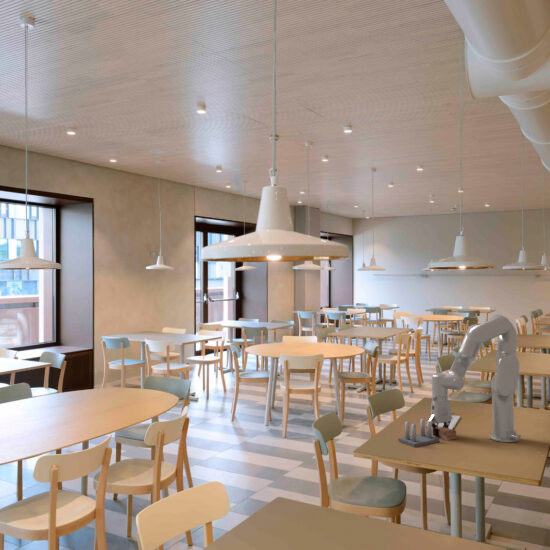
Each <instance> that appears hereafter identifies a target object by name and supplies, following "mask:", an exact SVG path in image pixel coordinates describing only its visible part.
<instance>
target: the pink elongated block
mask: <svg viewBox="0 0 550 550" xmlns="http://www.w3.org/2000/svg"><path fill="white" fill-rule="evenodd" d="M431 428H432V426H431ZM438 429H439V436H438V437H439V439H441V438H442V439H441V440H444V439H445V440H446V441H450V440H451V439H452V440H456V439H457V430H456V429H453V430H452V429H448V428H445V427H442V426H438ZM425 434H426V435H427V425H425ZM432 436H433V437H436V438H438V437H437V436H434V435H433V428H432ZM455 438H456V439H455Z"/></svg>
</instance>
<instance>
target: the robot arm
mask: <svg viewBox="0 0 550 550" xmlns="http://www.w3.org/2000/svg"><path fill="white" fill-rule="evenodd" d="M495 338H497V349H496V355H495V358H494V359H495V365H496V373H495V374H494V375H493V376H492V378H491V381H490V388H491V402H492V403H491V404H492V405H491V406H492V407H491V410H492V414H491V415H492V433H491V434H489V439H491V440H493V441H496V442H499V443H500V442H501V443H515V442H518V441H520V439H521V434H517V430H515V418H514V417H515V416H514V415H515V411H514V410H515V408H514V405H515V404H514V394H515V392H516V391H517V387H518V382H519V381H518V380H519V373H520V361H519V359H518V357H517V349H518V333H517V330H516V328H515V325H514V324H513V323H512V322H511V320H510V319H508V318H507V317H506V316H505V315H502V314H498V313H497V314H494V315H492V316H491V317H490V318H489V320H487V321H484V322H483V323H480V324H471V325H470V326H469V327H468V328H467V330H466V332H465V334H464V337H463V338H462V339H463V340H462V342H461V344H460V347H459V348H458V351H457V353H456V356H455V358H454V360H453V363H452V364H451V367H450V369H449V371H448V374H446V373H443V372H442V373H441V372H440V373H439V372H437V373H433V374H432V375H431V387H432V388H431V394H432V395H431V400H432V401H431V405H430V418H429V420H428V421H431V426H432V428H433V435H434V436H433V437H435V436H437V437H436V438H438V436H439V429H438V424H439V423H443V424H444V425H443V427H445V428H448V426H449V424H450V422H451V420H452V416H453V415H452V409H451V403H450V400H449V391H448V390H452V391H460V390H462V389H463V388H464V387H465V380H464V378H465V376H466V373H467V371H468V369H469V367H470V365H471V364H472V363H473V362H474V361H475V360H476V357H477V355H478V354H479V350H480V348H481V346H482V344H483V343H485V342H488V341H489V340H493V339H495ZM451 415H452V416H451ZM448 429H449V428H448Z"/></svg>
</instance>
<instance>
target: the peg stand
mask: <svg viewBox="0 0 550 550" xmlns="http://www.w3.org/2000/svg"><path fill="white" fill-rule="evenodd" d="M425 421H426V420H425V418H420V433H418V434H417V424H416V423H411V429H410V422H409V421H405V422H404V428H405V429H404V430H405V431H404V433H405V434H404V435H405V436H402V437H398V438H397V441H399V443H401V444H405V445H406V446H409V445H410V447H413V448H417V447H422V446H426V445H431V444H434V443H439V442H440V438H438V437H435V436H432V428H431V421H429V420H427V421H426V422H425ZM425 423H426V425H425ZM426 426H427V434H426ZM410 430H411V435H410Z"/></svg>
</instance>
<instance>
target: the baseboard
mask: <svg viewBox="0 0 550 550" xmlns="http://www.w3.org/2000/svg"><path fill="white" fill-rule="evenodd" d="M451 416H452V420H451V422H450V424H449V426H448V428H449V429H452V430H454V429H455V427H456V426H457V424H458V422H459V421H460V419H461V415H459V414H456V413H455V414H454V412H451ZM443 425H444V424H443V423H439V424H438V426H442V427H443ZM453 428H454V429H453Z"/></svg>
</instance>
